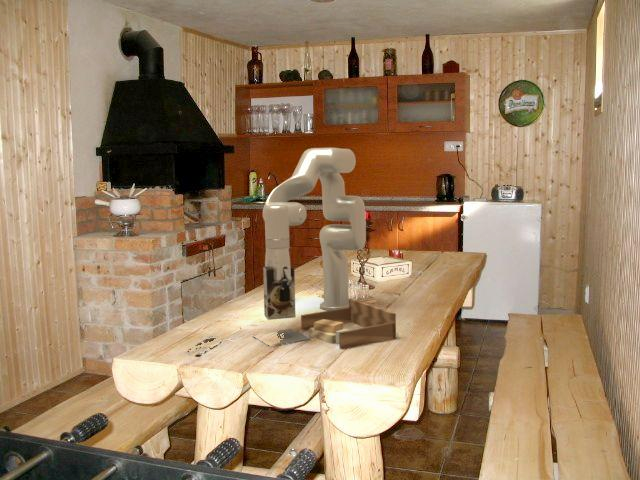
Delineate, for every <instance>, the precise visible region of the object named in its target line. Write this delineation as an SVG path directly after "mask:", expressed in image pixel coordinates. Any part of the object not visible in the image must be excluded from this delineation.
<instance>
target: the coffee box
mask: <svg viewBox="0 0 640 480" xmlns="http://www.w3.org/2000/svg"><path fill="white" fill-rule="evenodd" d="M290 266H291V277H292V281H291V285H290V301H287V302H280V289H281V287H280V283H279V281H275V280H274V269H272V268H269V267H265V266H262V267H263V268H262V270H263V274H262V275H263V305H264V307H263V308H264V311H263V312H264V314H263V315H264V317H265V318H266V319H267V321H270V320H271V321H272V320H281V319H293V318H296V287H295V286H296V283H295V282H296V281H295V279H296V278H295V267H293V266H292V265H290ZM282 279H286V277H285V275H284V277H282ZM283 284H284V282H283Z"/></svg>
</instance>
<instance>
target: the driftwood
mask: <svg viewBox="0 0 640 480" xmlns="http://www.w3.org/2000/svg"><path fill="white" fill-rule="evenodd" d="M210 337H213V336H211V335H210V336H209V337H208V338H210ZM214 339H216V338H210V339H207V338H205V339H203V340H202V341H203V342H204V343H207V342H208V341H209V342H211V341H213V340H214ZM202 341H201V342H202ZM201 342H198V343H196V344H195V345H194V346H198V345H201V344H202V343H201ZM188 350H191V348H189V349H188ZM196 355H198V356H199V355H201V354H200V353H197V354H196Z"/></svg>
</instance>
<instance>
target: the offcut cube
mask: <svg viewBox="0 0 640 480" xmlns="http://www.w3.org/2000/svg"><path fill="white" fill-rule="evenodd" d="M347 330H349V329H348V328H343V329H342V330H339V331H336V343H335V344H337V345H339V332H342V331H347Z"/></svg>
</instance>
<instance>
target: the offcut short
mask: <svg viewBox="0 0 640 480" xmlns="http://www.w3.org/2000/svg"><path fill="white" fill-rule="evenodd" d="M342 329H344V323H343V322H338V321H332V320H326V319H322V320H319V321H316V322H314V330H316V331H322V332H327V333H333V334H335V333H336V331H339V330H342Z"/></svg>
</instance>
